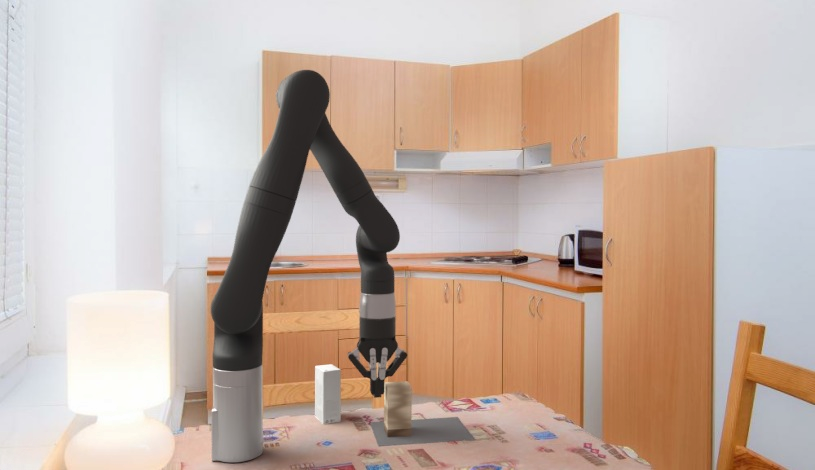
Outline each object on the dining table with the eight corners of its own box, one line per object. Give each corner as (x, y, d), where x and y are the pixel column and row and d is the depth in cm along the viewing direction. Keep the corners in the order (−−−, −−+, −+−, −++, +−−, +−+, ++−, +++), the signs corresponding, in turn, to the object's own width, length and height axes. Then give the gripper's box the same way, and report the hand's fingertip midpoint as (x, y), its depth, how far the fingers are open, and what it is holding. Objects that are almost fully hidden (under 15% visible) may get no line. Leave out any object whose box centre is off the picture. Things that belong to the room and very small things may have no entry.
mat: (378, 448, 121) (378, 446, 121) (369, 423, 135) (369, 422, 135) (475, 441, 124) (475, 439, 124) (457, 418, 138) (457, 416, 138)
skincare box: (341, 423, 135) (341, 369, 135) (323, 426, 133) (323, 371, 133) (332, 415, 140) (331, 363, 140) (314, 417, 139) (314, 365, 138)
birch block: (387, 436, 126) (388, 388, 125) (383, 428, 131) (384, 382, 130) (411, 435, 127) (411, 387, 126) (406, 427, 131) (407, 381, 131)
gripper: (347, 318, 122) (347, 403, 123) (412, 316, 124) (411, 400, 125) (344, 312, 129) (344, 392, 130) (405, 310, 132) (405, 389, 132)
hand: (377, 396), depth 128 cm, fingers closed
